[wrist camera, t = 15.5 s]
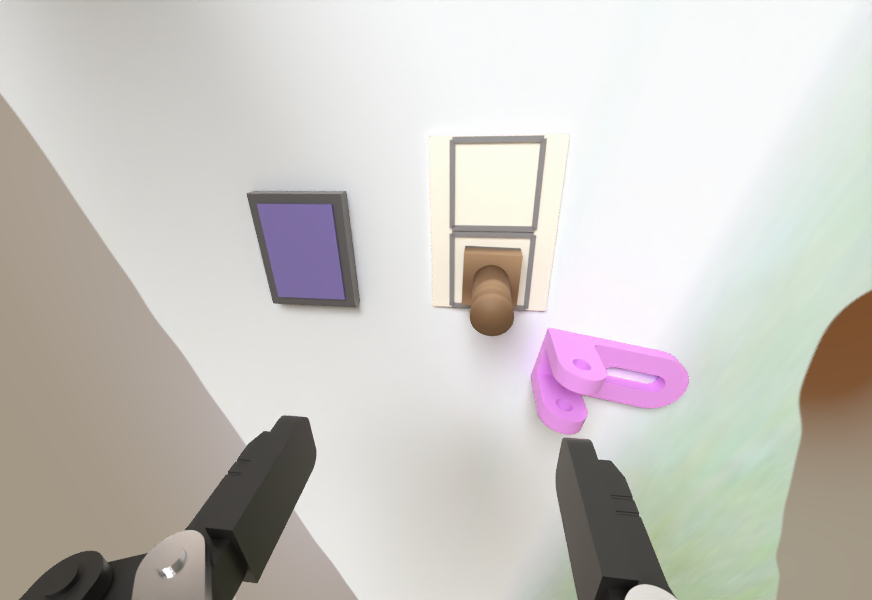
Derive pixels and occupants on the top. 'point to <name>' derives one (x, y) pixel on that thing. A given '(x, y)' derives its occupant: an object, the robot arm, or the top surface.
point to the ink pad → (306, 246)
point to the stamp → (491, 287)
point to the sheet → (495, 207)
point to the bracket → (598, 377)
